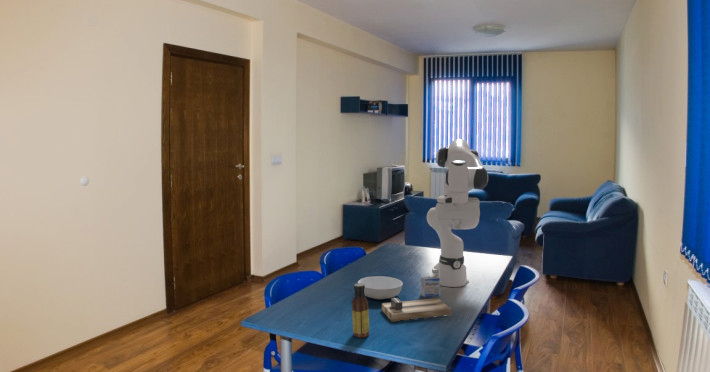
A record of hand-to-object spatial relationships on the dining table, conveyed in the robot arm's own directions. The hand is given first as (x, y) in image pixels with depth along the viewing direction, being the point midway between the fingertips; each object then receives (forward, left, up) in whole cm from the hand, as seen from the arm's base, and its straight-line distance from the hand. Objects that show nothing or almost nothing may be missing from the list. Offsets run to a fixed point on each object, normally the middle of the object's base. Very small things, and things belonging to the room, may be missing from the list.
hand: (457, 229), depth 227 cm
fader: (+5, -30, -31) cm, 43 cm away
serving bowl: (-20, -29, -34) cm, 49 cm away
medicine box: (-15, -6, -34) cm, 38 cm away
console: (+5, -21, -34) cm, 40 cm away
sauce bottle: (+22, -50, -34) cm, 64 cm away
